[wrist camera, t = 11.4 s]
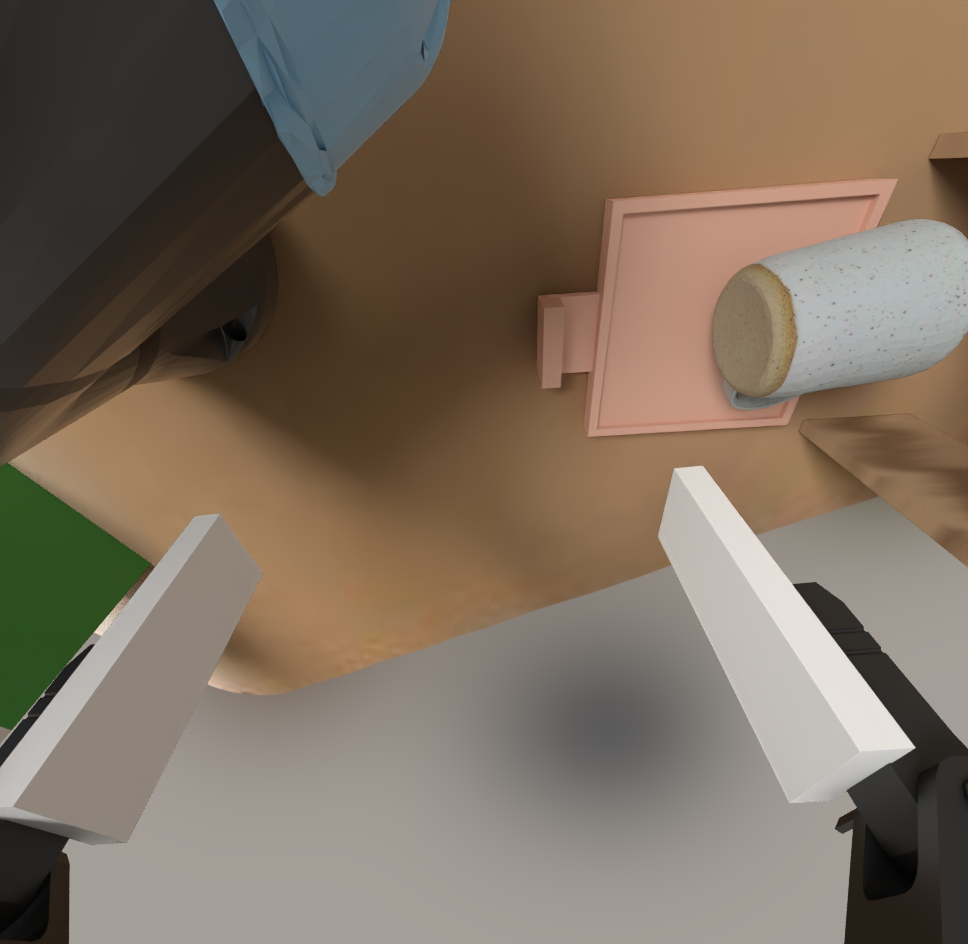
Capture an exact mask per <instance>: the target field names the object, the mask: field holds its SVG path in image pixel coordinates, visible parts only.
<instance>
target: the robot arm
mask: <svg viewBox="0 0 968 944" xmlns="http://www.w3.org/2000/svg"><path fill="white" fill-rule="evenodd" d="M450 2H451V0H0V467H1V466H2V465H4V464H6V463H7V462H9V461H11V460H12V459H14V458H16V457H17V456H19V455H20V454H22V453H24V452H25V451H27V450H29V449H30V448H32V447H34V446H35V445H37V444H38V443H40V442H42V441H43V440H45V439H47V438H48V437H50V436H52V435H53V434H55V433H56V432H58V431H60V430H61V429H63V428H65V427H66V426H68V425H70V424H71V423H73V422H75V421H76V420H78V419H79V418H81V417H83V416H84V415H86V414H88V413H89V412H91V411H93V410H94V409H96V408H97V407H99V406H101V405H102V404H104V403H106V402H107V401H109V400H111V399H112V398H113V397H115V396H117V395H118V394H120V393H121V392H123V391H125V390H126V389H128V388H130V387H131V386H133V385H137V384H144V383H151V382H158V381H164V380H171V379H178V378H184V377H191V376H197V375H202V374H206V373H210V372H212V371H215V370H217V369H220V368H222V367H224V366H226V365H228V364H230V363H231V362H233V361H234V360H236V359H237V358H238V357H240V356H241V355H242V354H244V353H245V352H246V351H247V350H249V349H250V348H251V347H252V346H253V345H254V344H256V343H257V341H258V340H259V339H260V338H261V337H262V335H263V334H264V332H265V331H266V329H267V327H268V325H269V323H270V320H271V318H272V315H273V312H274V308H275V304H276V297H277V267H276V260H275V254H274V250H273V246H272V242H271V239H270V235H269V232H270V231H271V230H272V229H273V228H274V227H275V226H277V225H278V224H279V223H280V222H281V221H282V220H283V219H285V218H286V217H287V216H288V215H289V214H290V213H292V212H293V211H294V210H295V209H296V208H297V207H298V206H300V205H301V204H302V203H303V202H304V201H305V200H306V199H308V198H309V197H310V196H311V195H312V194H313V193H314V192H315V193H316V194H317V195H319V196H321V197H322V198H323V197H324V196H325V195H327V194H328V193H329V192H331V191H332V190H333V189H334V186H335V184H336V179H337V170H338V169H339V168H340V167H341V166H342V165H343V164H344V163H345V162H346V161H347V160H348V159H349V158H350V157H351V156H352V155H353V154H354V153H355V152H356V151H357V150H358V149H359V148H360V147H361V146H362V145H363V144H364V143H365V142H366V141H367V140H368V139H369V138H370V137H371V136H372V135H373V134H374V133H375V132H376V131H377V130H378V129H379V128H380V127H381V126H382V125H383V124H384V123H385V122H386V121H387V120H388V119H389V118H390V117H391V116H392V115H393V114H394V113H395V112H396V111H397V110H398V109H399V108H400V107H401V106H402V105H403V104H405V103H406V102H407V101H408V100H409V99H410V98H411V97H412V96H413V95H414V94H415V93H416V91H417V90H418V89H419V88H420V87H421V86H422V84H423V83H424V81H425V80H426V78H427V77H428V75H429V74H430V72H431V70H432V68H433V66H434V64H435V62H436V60H437V57H438V55H439V53H440V50H441V47H442V44H443V41H444V37H445V33H446V28H447V24H448V16H449V7H450ZM658 538H659V540H660V542H661V544H662V546H663V548H664V550H665V552H666V554H667V556H668V558H669V560H670V562H671V564H672V566H673V568H674V570H675V572H676V574H677V576H678V579H679V581H680V582H681V585H682V587H683V589H684V590H685V593H686V595H687V597H688V599H689V601H690V603H691V605H692V607H693V609H694V611H695V613H696V615H697V617H698V619H699V621H700V623H701V625H702V627H703V629H704V631H705V633H706V635H707V637H708V639H709V641H710V643H711V645H712V647H713V649H714V651H715V653H716V655H717V657H718V659H719V661H720V663H721V665H722V667H723V670H724V671H725V674H726V676H727V678H728V680H729V681H730V684H731V686H732V688H733V690H734V692H735V694H736V696H737V698H738V700H739V702H740V704H741V706H742V708H743V710H744V712H745V714H746V716H747V718H748V720H749V722H750V724H751V726H752V728H753V730H754V732H755V734H756V736H757V738H758V740H759V742H760V744H761V746H762V748H763V750H764V752H765V754H766V756H767V758H768V760H769V762H770V765H771V766H772V769H773V770H774V773H775V775H776V777H777V779H778V781H779V783H780V784H781V787H782V789H783V791H784V793H785V795H786V797H787V799H788V801H789V803H799V802H814V801H815V802H816V801H832V800H834V799H835V798H837V797H838V796H840V795H842V794H843V793H845V792H848V793H849V795H850V797H851V798H852V800H853V802H854V803H855V805H856V806H857V808H856V809H855V810H853V811H851V812H849V813H847V814H845V815H844V816H842V817H840V818H839V820H838V822H837V825H836V828H835V829H836V830H837V831H839V832H841V833H842V834H843V833H845V832H847V831H849V830H851V829H853V836H852V849H851V862H850V876H849V889H848V902H847V915H846V929H845V942H844V944H968V749H967V747H966V746H965V745H964V744H963V743H962V742H961V741H960V740H959V739H958V738H957V737H956V736H955V735H954V734H953V733H952V731H951V730H950V729H949V728H948V727H947V725H946V724H945V723H944V722H943V721H942V720H941V718H940V717H939V716H938V715H937V713H936V712H935V711H934V710H933V709H932V708H931V706H930V705H929V704H928V703H927V702H926V700H925V699H924V698H923V697H922V696H921V694H920V693H919V692H918V691H917V690H916V688H915V687H914V686H913V685H912V684H911V683H910V681H909V680H908V679H907V678H906V677H905V676H904V674H903V673H902V672H901V671H900V669H898V667H897V666H896V665H895V664H894V662H893V661H892V660H891V659H890V658H889V656H888V655H887V654H886V653H883V652H882V651H881V647H880V646H879V644H878V643H877V642H876V641H875V640H874V638H873V637H872V636H871V635H870V634H869V633H868V632H865V631H864V627H863V625H862V624H861V623H860V622H859V621H858V619H857V618H856V617H855V616H854V615H853V614H852V613H851V611H850V610H849V609H848V608H847V606H846V605H845V604H844V603H843V602H842V601H841V600H839V599H838V598H837V597H835V596H834V595H832V594H831V593H830V592H828V591H827V590H826V589H824V588H823V587H822V586H820V585H819V584H817V583H816V582H812V583H801V584H792V583H791V582H790V581H789V580H788V578H787V577H786V576H785V574H784V573H783V572H782V570H781V569H780V568H779V566H778V565H777V564H776V562H775V561H774V560H773V558H772V557H771V556H770V555H769V553H768V552H767V550H766V549H765V548H764V546H763V545H762V544H761V542H760V541H759V540H758V538H757V537H756V536H755V534H754V533H753V532H752V531H751V529H750V528H749V527H748V525H747V524H746V523H745V521H744V520H743V519H742V517H741V516H740V515H739V513H738V512H737V511H736V509H735V508H734V507H733V505H732V504H731V503H730V501H729V500H728V499H727V497H726V496H725V495H724V493H723V492H722V491H721V489H720V488H719V487H718V485H717V484H716V483H715V482H714V480H713V479H712V478H711V476H710V475H709V474H708V472H707V471H706V470H705V468H704V467H703V466H695V467H685V468H675V469H674V471H673V475H672V480H671V484H670V488H669V492H668V496H667V501H666V505H665V509H664V513H663V517H662V522H661V526H660V530H659V534H658ZM262 574H263V572H262V571H261V570H260V568H259V567H258V565H257V564H256V563H255V561H254V560H253V559H252V557H251V556H250V554H249V553H248V552H247V550H246V549H245V547H244V546H243V545H242V543H241V542H240V540H239V539H238V538H237V536H236V535H235V534H234V532H233V531H232V529H231V528H230V527H229V525H228V524H227V522H226V521H225V520H224V518H223V517H222V516H221V514H212V515H201V516H194V518H193V519H192V520H191V522H190V523H189V524H188V526H187V527H186V528H185V529H184V531H183V532H182V533H181V535H180V536H179V537H178V538H177V540H176V541H175V542H174V544H173V545H172V546H171V547H170V549H169V550H168V551H167V553H166V554H165V555H164V556H163V558H162V559H161V560H160V562H159V563H158V564H157V566H156V567H155V568H154V569H153V571H152V572H151V573H150V575H149V576H148V577H147V578H146V580H145V581H144V582H143V584H142V585H141V586H140V587H139V589H138V590H137V591H136V593H135V594H134V595H133V597H132V598H131V599H130V600H129V602H128V603H127V604H126V606H125V607H124V608H123V609H122V611H121V612H120V613H119V615H118V616H117V617H116V618H115V620H114V621H113V622H112V624H111V625H110V626H109V628H108V629H107V630H106V631H105V633H104V634H103V635H102V637H101V638H100V639H99V641H98V642H97V643H96V644H92V645H90V646H88V647H87V648H86V649H85V650H84V651H83V652H82V653H81V654H79V655H78V656H77V657H76V658H75V659H74V660H73V661H71V662H70V663H69V664H68V665H67V666H66V667H65V668H64V669H63V670H62V671H61V673H60V674H59V675H58V676H57V678H56V679H55V680H54V681H53V683H52V684H51V685H50V687H49V688H48V689H47V690H46V692H45V696H44V697H43V698H40V699H39V700H38V702H37V703H36V704H35V705H34V706H33V708H32V709H31V710H30V711H29V713H28V717H27V718H26V719H23V720H22V722H21V723H20V724H19V725H18V727H17V728H16V729H15V730H14V732H13V733H12V734H11V735H10V736H9V738H8V739H7V740H6V741H5V743H4V744H3V745H2V746H1V748H0V944H69V870H70V868H69V867H70V865H69V861H68V857H67V854H65V853H63V852H61V851H62V850H63V848H64V846H65V845H66V843H67V841H68V839H73V840H76V841H80V842H84V843H87V844H90V845H96V844H113V843H127V842H128V840H129V838H130V836H131V834H132V832H133V830H134V828H135V826H136V824H137V822H138V821H139V819H140V816H141V815H142V813H143V810H144V809H145V807H146V805H147V802H148V801H149V798H150V797H151V794H152V793H153V791H154V789H155V787H156V784H157V783H158V781H159V779H160V777H161V775H162V773H163V771H164V769H165V766H166V764H167V763H168V761H169V759H170V757H171V755H172V753H173V751H174V749H175V747H176V745H177V743H178V741H179V739H180V737H181V735H182V733H183V731H184V729H185V727H186V725H187V723H188V721H189V719H190V717H191V715H192V713H193V711H194V709H195V707H196V705H197V703H198V701H199V699H200V697H201V695H202V693H203V691H204V689H205V687H206V685H207V683H208V681H209V679H210V677H211V675H212V673H213V671H214V669H215V667H216V665H217V663H218V661H219V659H220V657H221V656H222V654H223V652H224V650H225V648H226V646H227V644H228V642H229V640H230V638H231V636H232V634H233V632H234V630H235V628H236V626H237V624H238V622H239V620H240V618H241V616H242V614H243V612H244V610H245V608H246V606H247V604H248V602H249V600H250V598H251V596H252V594H253V592H254V590H255V588H256V586H257V584H258V582H259V580H260V578H261V576H262Z"/></svg>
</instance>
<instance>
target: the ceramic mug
mask: <svg viewBox="0 0 968 944" xmlns="http://www.w3.org/2000/svg"><path fill="white" fill-rule="evenodd" d="M967 332H968V239H967V238H966V237H965V236H964V235H963V234H962V233H961V232H960V231H959V230H957V229H956V228H954V227H952V226H950V225H948V224H946V223H944V222H939V221H934V220H929V219H910V220H905V221H900V222H896V223H892V224H888V225H885V226H881V227H877V228H873V229H869V230H866V231H862V232H858V233H854V234H850V235H846V236H843V237H839V238H835V239H832V240H828V241H825V242H821V243H818V244H814V245H810V246H807V247H802V248H798V249H793V250H789V251H785V252H782V253H779V254H775V255H772V256H769V257H766V258H764V259H762V260H760V261H758V262H755V263H752V264H750V265H748V266H746V267H744V268H742V269H741V270H740V271H738V272H737V273H736V274H735V275H733V276H732V278H731V279H730V280H729V281H728V283H727V284H726V286H725V287H724V289H723V290H722V292H721V294H720V296H719V298H718V301H717V304H716V307H715V311H714V316H713V324H712V343H713V349H714V354H715V358H716V362H717V365H718V367H719V369H720V371H721V373H722V375H723V383H722V388H723V390H724V393H725V395H726V398H727V399H728V401H729V402H730V404H731V405H732V406H733V407H735V408H737V409H740V410H753V409H762V408H767V407H771V406H774V405H777V404H781V403H784V402H786V401H789V400H792V399H794V398H796V397H798V396H800V395H802V394H804V393H809V392H815V391H820V390H826V389H832V388H839V387H848V386H854V385H860V384H866V383H873V382H879V381H886V380H892V379H898V378H902V377H906V376H910V375H913V374H916V373H919V372H921V371H924V370H927V369H928V368H930V367H931V366H933V365H935V364H937V363H938V362H940V361H941V360H942V359H944V358H945V357H946V356H948V355H949V354H950V353H951V352H952V351H953V350H954V349H955V348H956V347H957V346H958V345H959V343H960V342H961V341H962V338H963V337H964V336H965V335H966V334H967Z"/></svg>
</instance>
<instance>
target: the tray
mask: <svg viewBox="0 0 968 944" xmlns="http://www.w3.org/2000/svg"><path fill="white" fill-rule="evenodd" d="M897 181H898V179H862V180H849V181H836V182H823V183H811V184H798V185H785V186H772V187H759V188H746V189H733V190H721V191H708V192H695V193H682V194H669V195H656V196H643V197H630V198H618V199H606V202H605V212H604V222H603V233H602V243H601V253H600V263H599V273H598V283H597V291H594V292H580V293H566V294H552V295H538V325H537V373H538V376H539V380H540V383H541V386H542V389H547V388H561V374H562V373H577V372H589V374H588V384H587V395H586V405H585V415H584V425H583V426H584V429H585V431H586V433H587V436H588V437H593V436H609V435H626V434H642V433H659V432H675V431H692V430H708V429H725V428H741V427H758V426H774V425H787V424H788V422H789V420H790V418H791V416H792V413H793V411H794V409H795V407H796V405H797V402H798V400H799V398H800V396H801V395H800V396H798V397H796V398H794V399H792V400H789V401H786V402H784V403H781V404H777V405H774V406H771V407H767V408H762V409H753V410H740V409H737V408H735V407H733V406H732V405H731V404H730V402H729V401H728V399H727V398H726V395H725V393H724V390H723V388H722V383H723V375H722V373H721V371H720V369H719V367H718V365H717V362H716V358H715V354H714V349H713V343H712V324H713V316H714V311H715V307H716V304H717V301H718V298H719V296H720V294H721V292H722V290H723V289H724V287H725V286H726V284H727V283H728V281H729V280H730V279H731V278H732V276H733V275H735V274H736V273H737V272H738V271H740V270H741V269H742V268H744V267H746V266H748V265H750V264H752V263H755V262H758V261H760V260H762V259H764V258H766V257H769V256H772V255H775V254H779V253H782V252H785V251H789V250H793V249H798V248H802V247H807V246H810V245H814V244H818V243H821V242H825V241H828V240H832V239H835V238H839V237H843V236H846V235H850V234H854V233H858V232H862V231H866V230H869V229H873V228H877V225H878V223H879V221H880V219H881V217H882V214H883V212H884V210H885V208H886V206H887V203H888V201H889V199H890V197H891V194H892V192H893V190H894V188H895V186H896V183H897Z"/></svg>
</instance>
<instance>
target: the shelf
mask: <svg viewBox="0 0 968 944" xmlns="http://www.w3.org/2000/svg"><path fill="white" fill-rule="evenodd" d="M964 157H968V132H961V133H950V134H940V136H939V138H938V141H937V143H936V145H935V147H934V149H933V151H932V153H931V155H930V157H929V159H933V158H964ZM799 432H800V433H802V434H803V435H804V436H805V437H807V438H808V439H809V440H810V441H812V442H813V443H814V444H815V445H817V446H818V447H819V448H820V449H822V450H823V451H824V452H825V453H826V454H828V455H829V456H830V457H831V458H833V459H834V460H835V461H836V462H838V463H839V464H840V465H841V466H843V467H844V468H845V469H846V470H848V471H849V472H850V473H851V474H853V475H854V476H855V477H856V478H858V479H859V480H860V481H861V482H863V483H864V484H865V485H866V486H867V487H869V488H870V489H871V490H872V491H874V492H875V493H876V494H877V495H879V496H880V497H881V498H883V499H884V500H885V501H886V502H887V503H889V504H890V505H891V506H892V507H894V508H895V509H896V510H897V511H899V512H900V513H901V514H902V515H904V516H905V517H906V518H908V519H909V520H910V521H911V522H912V523H914V524H915V525H916V526H917V527H918V528H920V529H921V530H922V531H923V532H925V533H926V534H927V535H928V536H930V537H931V538H932V539H934V540H935V541H936V542H937V543H938V544H940V545H941V546H942V547H944V548H945V549H946V550H947V551H948V552H949V553H951V554H952V555H953V556H955V557H956V558H957V559H958V560H959V561H961V562H962V563H963V564H964V565H966V566H967V567H968V446H967V445H965V444H964V443H962V442H960V441H958V440H956V439H955V438H953V437H951V436H949V435H947V434H946V433H944V432H942V431H940V430H938V429H937V428H935V427H933V426H931V425H929V424H928V423H926V422H924V421H922V420H920V419H919V418H917V417H915V416H913V415H911V414H897V415H880V416H864V417H847V418H831V419H815V420H804V421H803V423H802V425H801V428H800V430H799Z"/></svg>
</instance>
